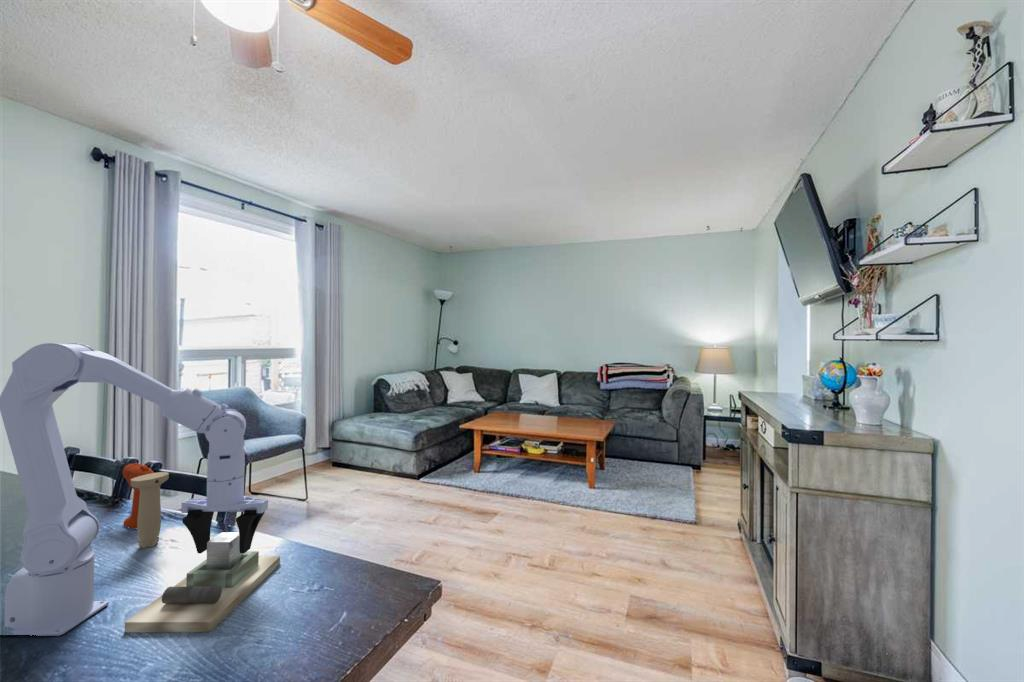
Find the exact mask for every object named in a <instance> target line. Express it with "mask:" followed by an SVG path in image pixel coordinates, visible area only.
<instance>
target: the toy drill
mask: <svg viewBox="0 0 1024 682" xmlns="http://www.w3.org/2000/svg"><path fill="white" fill-rule="evenodd" d="M114 463H115V464H116V465H118V466H119V470H120V471H121V472H122V475H123V478H124V479H125V480H126V482H127V483H128V484H129V486H130V487H131V489H133V494H132V495H133V496H132V503H131V514H130V516H128V517H126V518H125V519H124V521H123V526H124V525H125V526H126V527H125V526H124V527H125V528H127V527H129V528H128V529H130V528H137V518H138V509H139V497H140V490H139V488H136V487H133V486H131V479H133V478H135V477H138V476H142V475H146V474H151V473H155V472H154V471H153V470H152V469H151V468H150V467H148V465H146V464H141V463H139V462H138V463H137V462H135V463H132V462H129V461H128V462H123V461H121V460H119V459H116V460H115V461H114Z"/></svg>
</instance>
